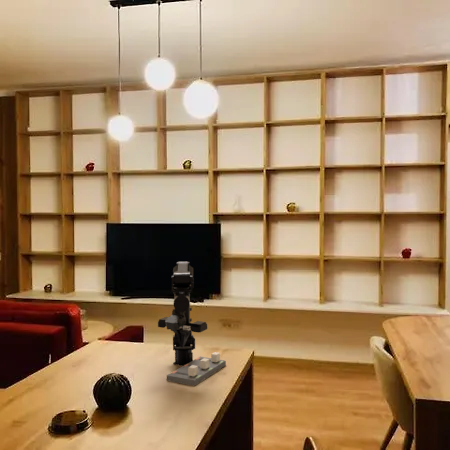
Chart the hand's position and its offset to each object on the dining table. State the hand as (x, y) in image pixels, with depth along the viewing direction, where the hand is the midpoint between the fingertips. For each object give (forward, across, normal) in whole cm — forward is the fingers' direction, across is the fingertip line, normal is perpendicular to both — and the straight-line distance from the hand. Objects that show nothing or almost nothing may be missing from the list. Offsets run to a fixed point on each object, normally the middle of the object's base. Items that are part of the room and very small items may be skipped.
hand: (182, 347), depth 184 cm
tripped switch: (+9, +5, -1) cm, 11 cm away
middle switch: (+9, +5, +8) cm, 14 cm away
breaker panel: (+12, +2, +8) cm, 14 cm away
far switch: (+9, +5, +17) cm, 20 cm away
